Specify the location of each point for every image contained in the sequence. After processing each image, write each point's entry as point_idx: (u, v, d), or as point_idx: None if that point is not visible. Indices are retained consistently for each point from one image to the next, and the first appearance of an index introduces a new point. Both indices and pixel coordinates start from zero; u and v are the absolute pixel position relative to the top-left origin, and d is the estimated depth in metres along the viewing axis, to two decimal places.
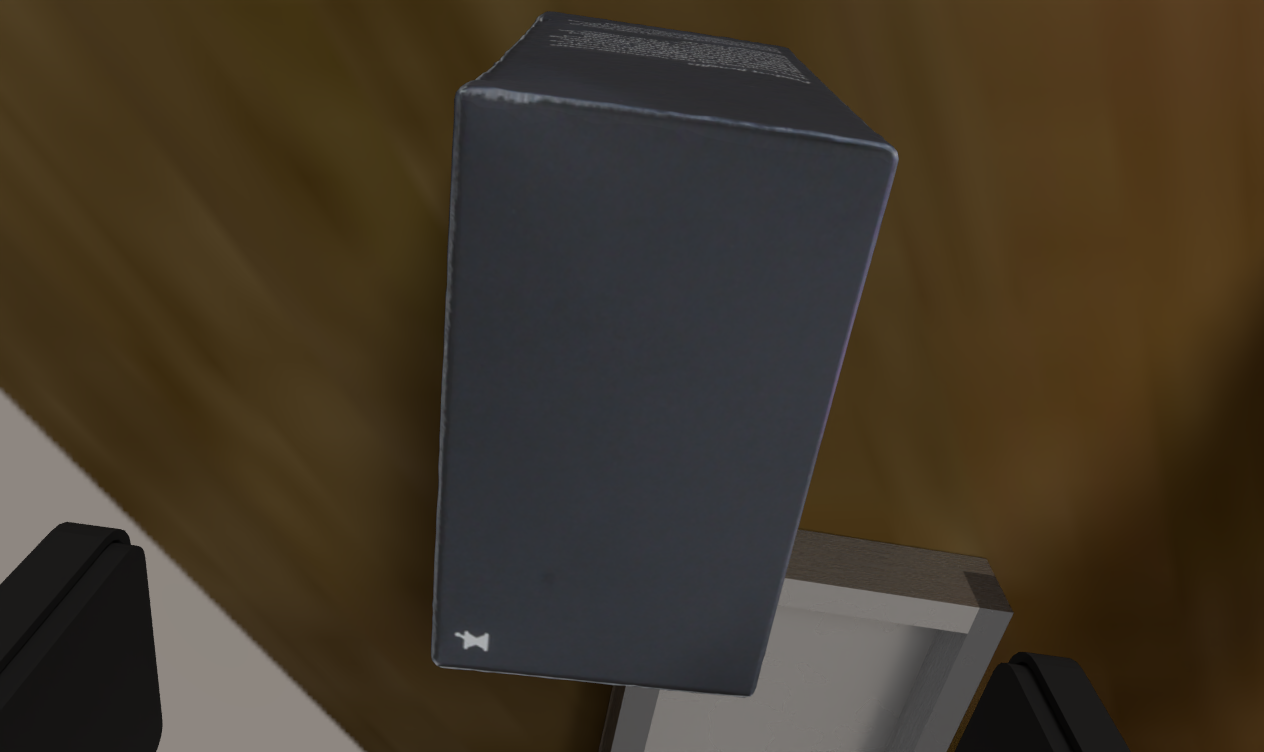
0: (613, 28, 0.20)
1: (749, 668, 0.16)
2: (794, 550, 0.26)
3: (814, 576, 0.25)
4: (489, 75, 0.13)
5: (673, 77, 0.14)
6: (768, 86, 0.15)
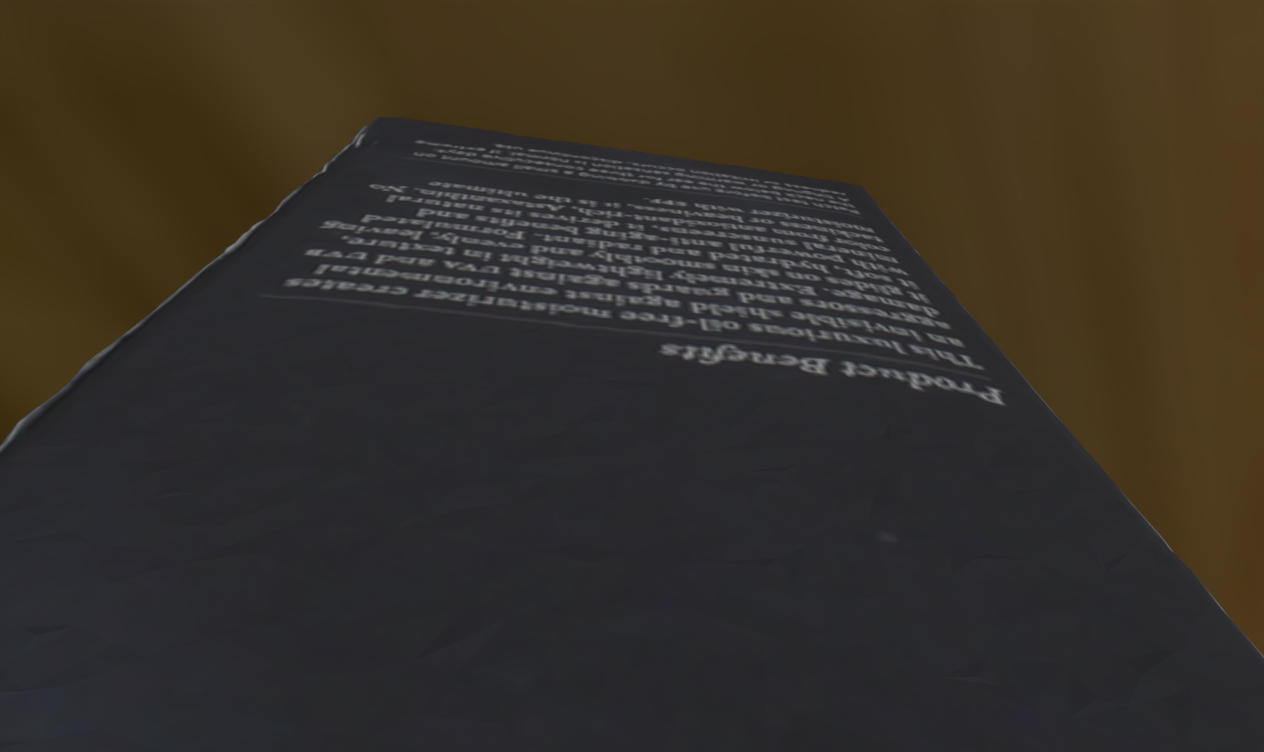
0: (507, 163, 0.09)
1: None
2: None
3: None
4: None
5: (608, 508, 0.04)
6: (929, 506, 0.04)
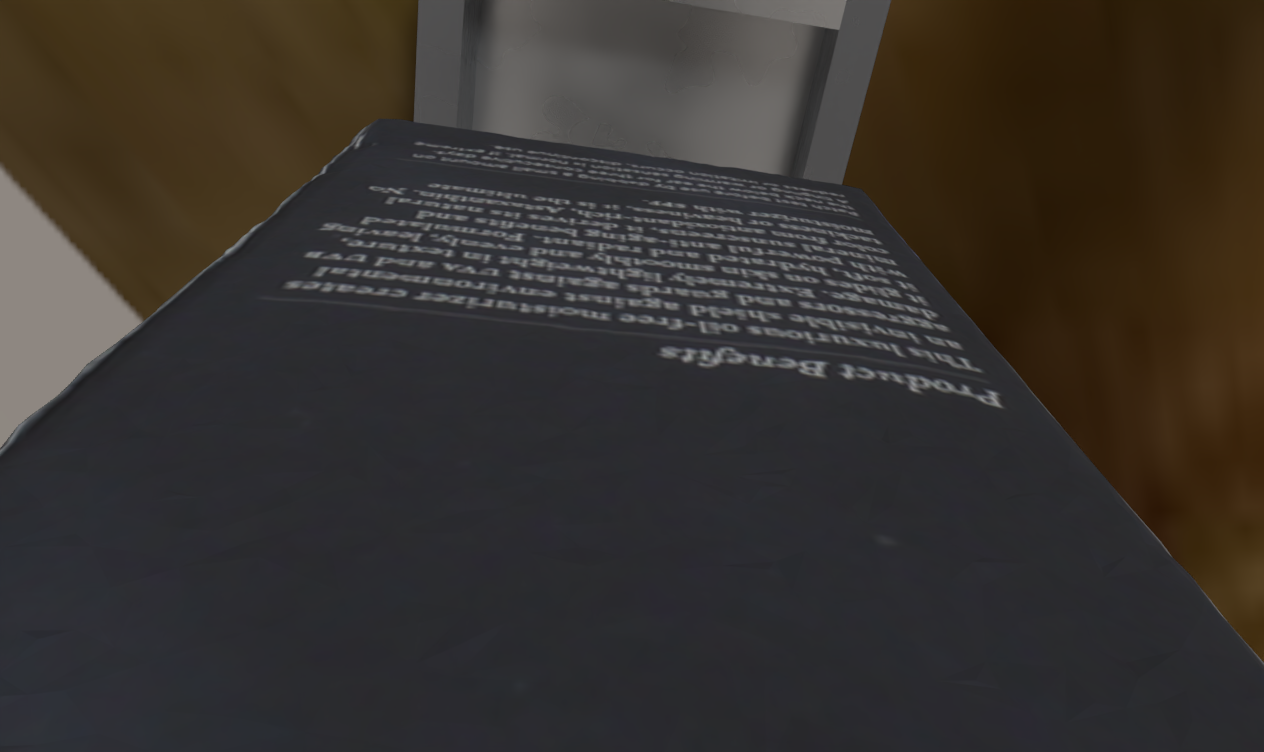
0: (507, 164, 0.09)
1: None
2: None
3: None
4: None
5: (608, 512, 0.04)
6: (928, 510, 0.04)
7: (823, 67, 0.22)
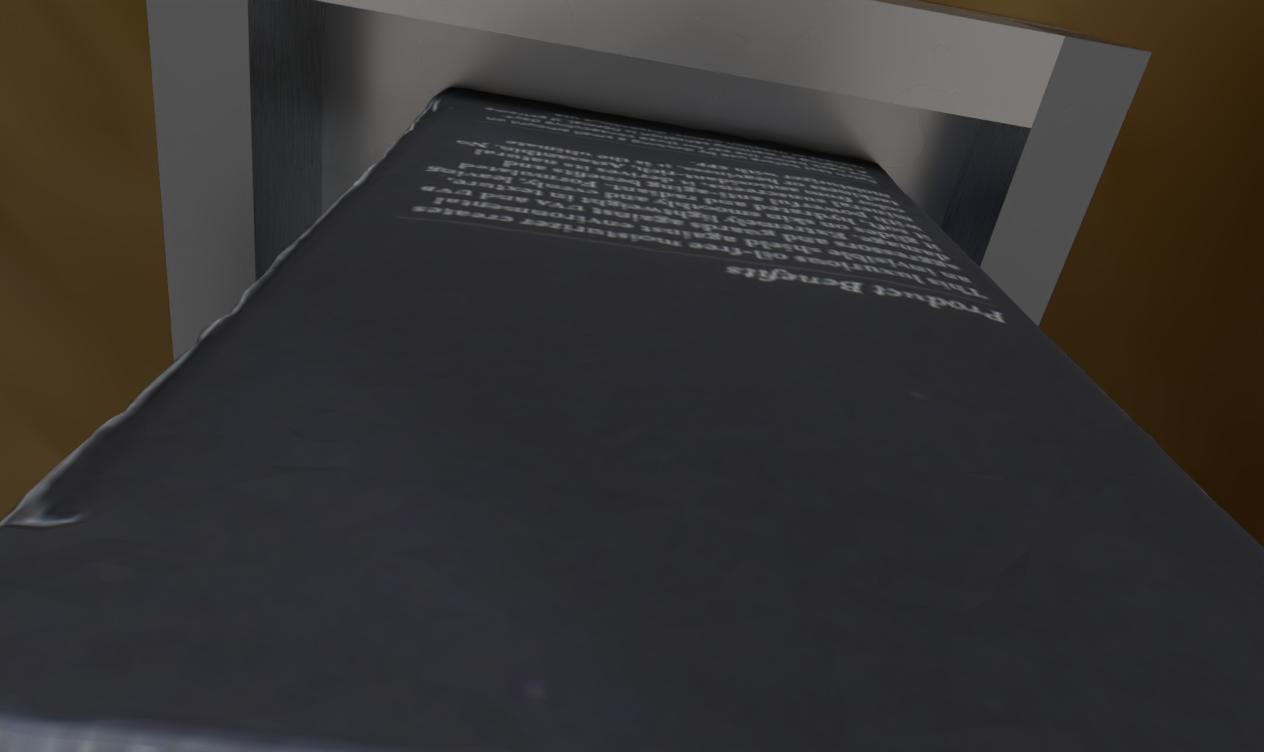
0: (568, 129, 0.11)
1: None
2: None
3: None
4: (111, 445, 0.04)
5: (706, 366, 0.05)
6: (949, 380, 0.06)
7: (982, 191, 0.11)
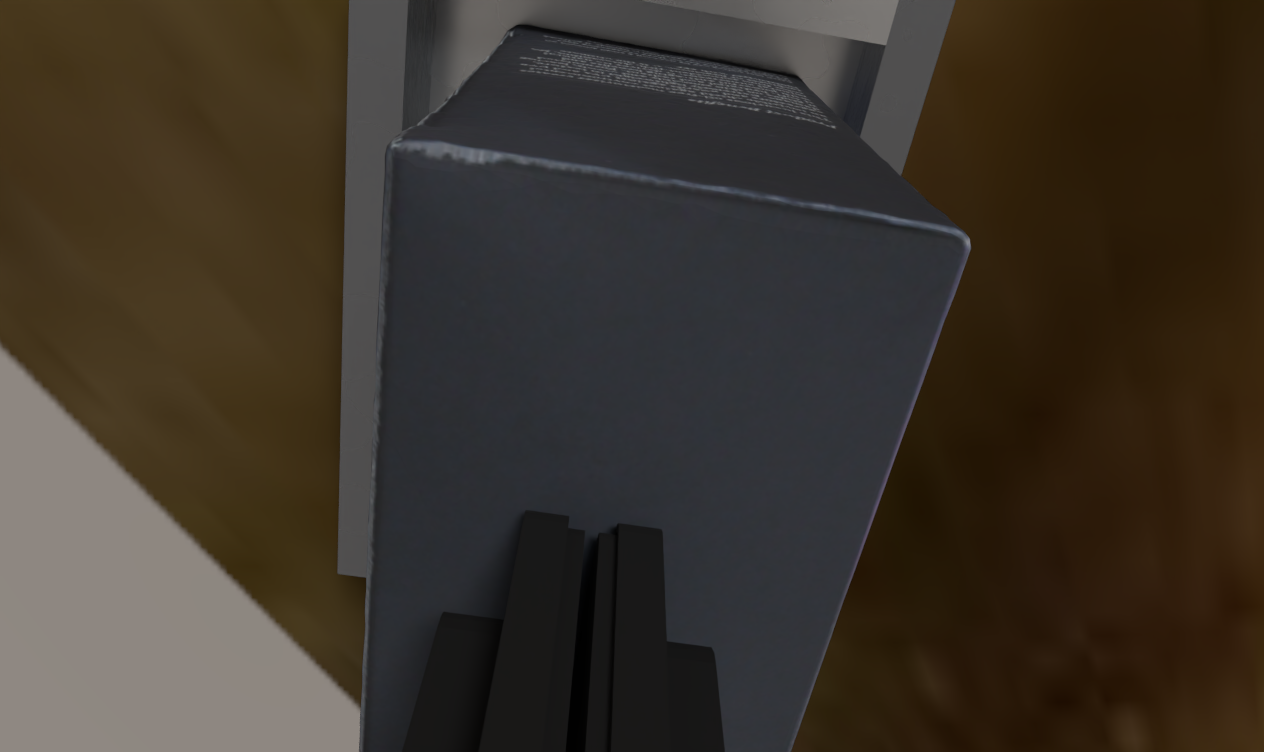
0: (596, 47, 0.17)
1: None
2: None
3: None
4: (437, 117, 0.10)
5: (673, 121, 0.11)
6: (790, 134, 0.12)
7: (862, 91, 0.17)
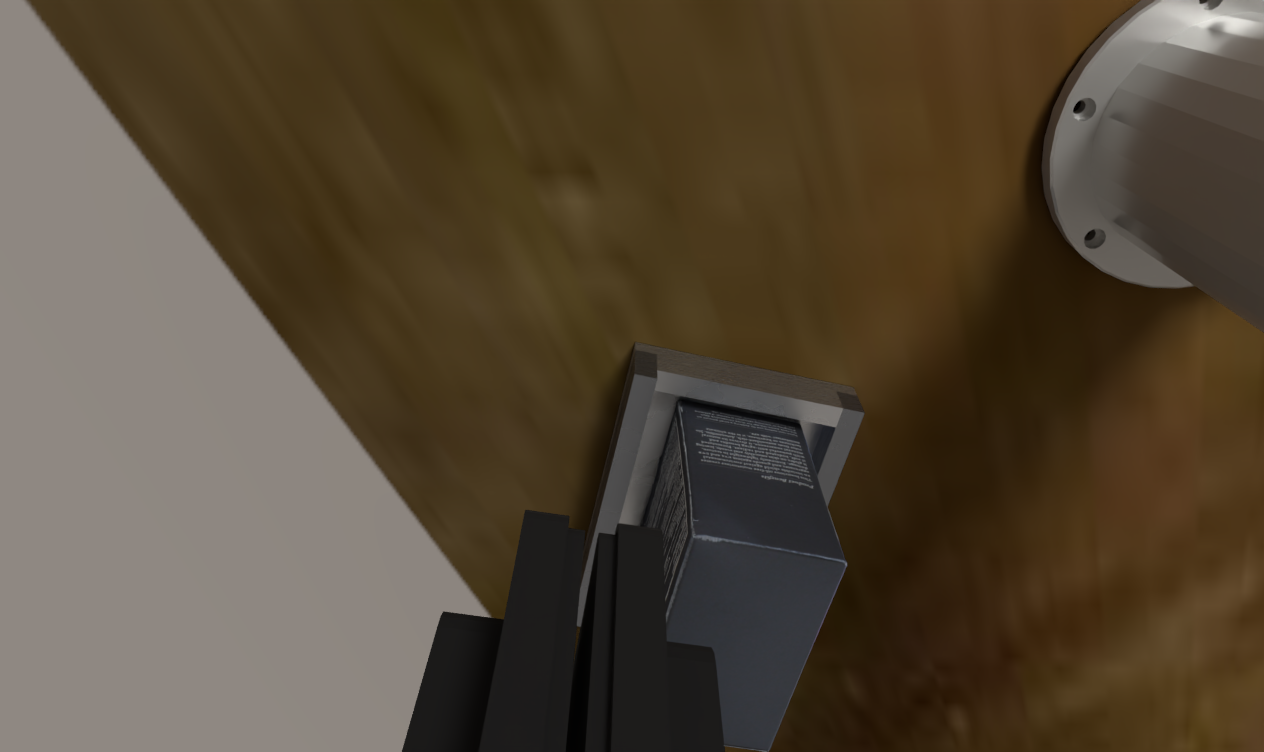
0: (717, 419, 0.40)
1: (769, 739, 0.37)
2: (727, 371, 0.40)
3: (738, 384, 0.40)
4: (693, 511, 0.34)
5: (759, 500, 0.35)
6: (797, 502, 0.36)
7: (826, 437, 0.41)
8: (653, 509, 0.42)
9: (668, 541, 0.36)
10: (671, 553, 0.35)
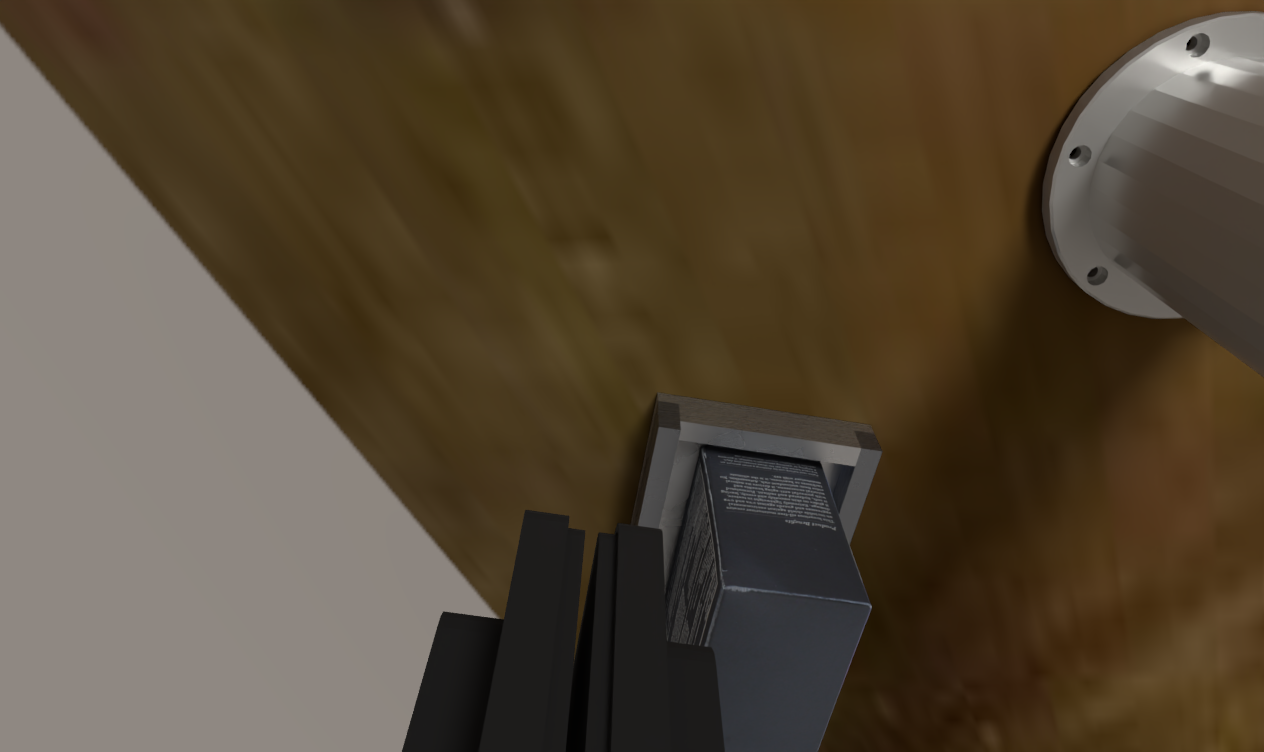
0: (740, 463, 0.42)
1: None
2: (747, 417, 0.42)
3: (759, 430, 0.41)
4: (722, 561, 0.35)
5: (784, 545, 0.37)
6: (821, 546, 0.37)
7: (846, 474, 0.43)
8: (682, 551, 0.43)
9: (699, 587, 0.38)
10: (702, 600, 0.37)
